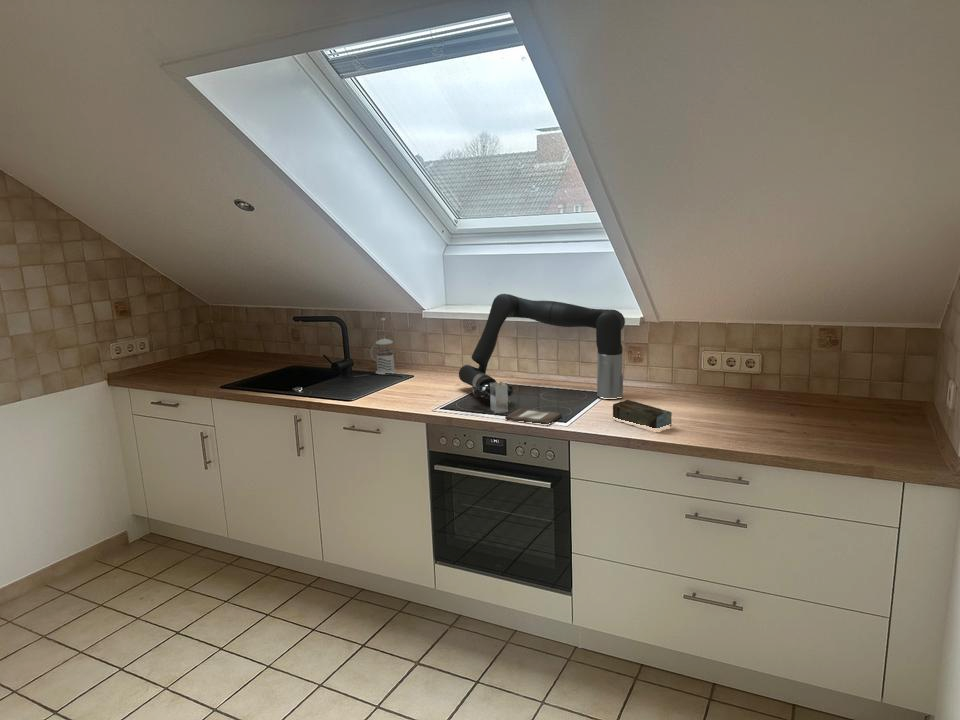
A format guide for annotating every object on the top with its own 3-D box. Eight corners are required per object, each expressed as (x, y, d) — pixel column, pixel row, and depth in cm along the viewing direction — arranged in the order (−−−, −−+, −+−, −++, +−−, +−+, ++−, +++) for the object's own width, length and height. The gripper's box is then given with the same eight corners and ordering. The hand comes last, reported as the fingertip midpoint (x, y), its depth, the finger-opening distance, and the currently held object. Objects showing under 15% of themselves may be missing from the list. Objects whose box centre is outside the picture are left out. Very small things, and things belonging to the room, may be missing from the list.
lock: (502, 408, 252) (501, 379, 250) (507, 412, 246) (507, 383, 244) (490, 409, 250) (489, 381, 248) (496, 413, 245) (495, 384, 243)
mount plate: (505, 420, 237) (505, 416, 237) (520, 411, 247) (520, 407, 247) (548, 426, 229) (548, 422, 229) (561, 416, 239) (561, 412, 239)
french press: (392, 374, 309) (389, 319, 304) (368, 373, 311) (365, 319, 306) (399, 369, 318) (396, 316, 313) (375, 369, 321) (372, 316, 315)
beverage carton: (656, 434, 219) (656, 414, 217) (611, 421, 234) (611, 402, 233) (672, 429, 223) (672, 409, 222) (627, 416, 238) (627, 398, 237)
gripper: (466, 376, 259) (479, 386, 244) (502, 373, 264) (517, 382, 249) (467, 396, 261) (480, 406, 246) (502, 392, 265) (517, 402, 250)
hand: (498, 394), depth 247 cm, fingers open, 8 cm apart
